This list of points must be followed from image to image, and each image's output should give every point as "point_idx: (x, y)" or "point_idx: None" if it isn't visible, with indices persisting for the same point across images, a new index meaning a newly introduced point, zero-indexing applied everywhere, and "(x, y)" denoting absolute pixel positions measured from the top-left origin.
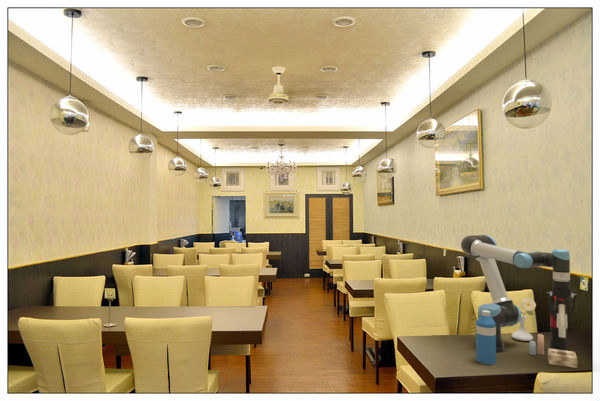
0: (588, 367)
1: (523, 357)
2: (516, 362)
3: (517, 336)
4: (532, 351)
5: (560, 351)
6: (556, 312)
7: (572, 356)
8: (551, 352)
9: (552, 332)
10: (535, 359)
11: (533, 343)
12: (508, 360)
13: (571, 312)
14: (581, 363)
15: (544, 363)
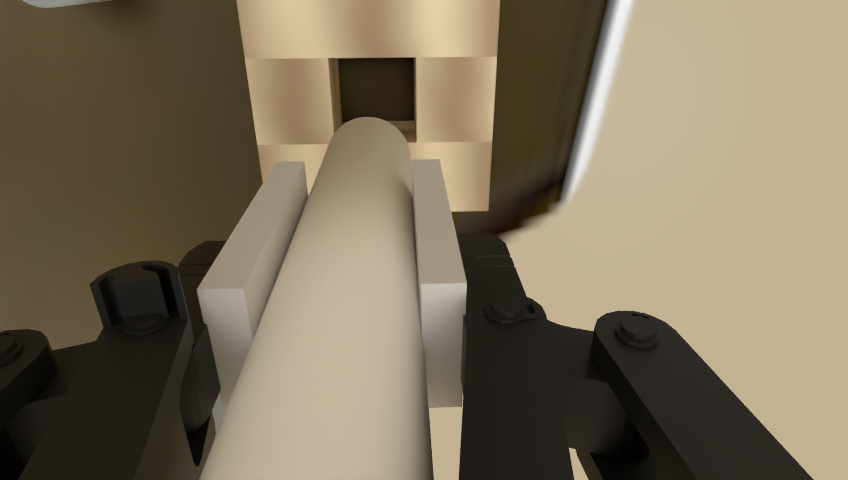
0: (560, 121)
1: (71, 105)
2: (69, 266)
3: None
4: (103, 1)
5: (361, 38)
6: (197, 446)
7: (456, 166)
8: (282, 127)
9: None
10: (171, 113)
11: (65, 4)
12: (3, 248)
13: (588, 465)
14: (529, 30)
15: (251, 188)
